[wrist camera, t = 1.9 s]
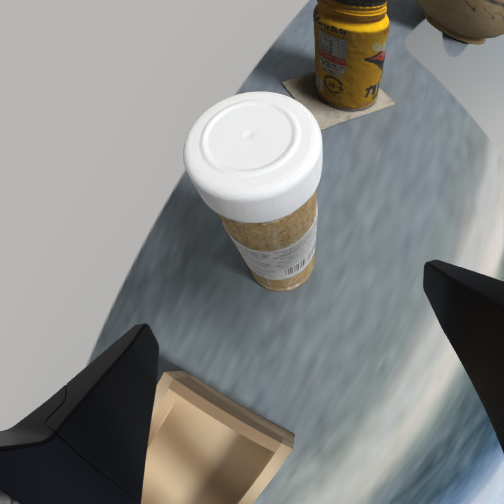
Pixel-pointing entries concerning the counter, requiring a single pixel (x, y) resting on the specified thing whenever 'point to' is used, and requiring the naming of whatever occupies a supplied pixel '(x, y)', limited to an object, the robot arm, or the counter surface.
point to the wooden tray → (208, 446)
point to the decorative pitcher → (466, 18)
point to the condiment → (345, 61)
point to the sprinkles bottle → (261, 181)
